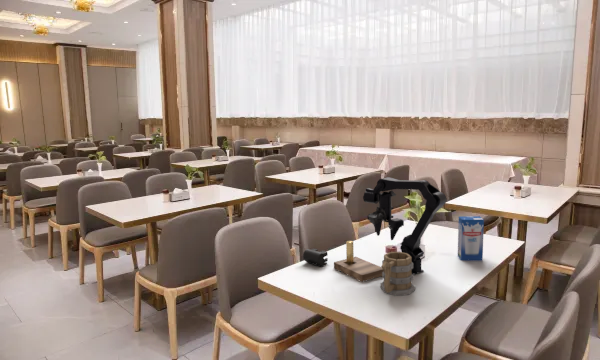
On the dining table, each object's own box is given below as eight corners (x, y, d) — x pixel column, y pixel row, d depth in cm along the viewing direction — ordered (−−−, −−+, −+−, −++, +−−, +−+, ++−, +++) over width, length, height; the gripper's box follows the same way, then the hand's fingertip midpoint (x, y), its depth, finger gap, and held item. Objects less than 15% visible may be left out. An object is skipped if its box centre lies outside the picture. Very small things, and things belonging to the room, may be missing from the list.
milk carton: (478, 256, 209) (479, 216, 206) (482, 260, 203) (484, 219, 200) (457, 256, 210) (458, 216, 207) (460, 260, 204) (462, 219, 201)
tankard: (390, 280, 183) (390, 246, 180) (418, 287, 175) (419, 251, 172) (366, 296, 167) (366, 259, 165) (396, 304, 159) (396, 266, 157)
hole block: (384, 275, 189) (384, 268, 188) (362, 281, 182) (362, 275, 181) (355, 262, 205) (355, 256, 205) (334, 268, 199) (333, 262, 198)
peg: (355, 269, 197) (354, 241, 195) (349, 270, 195) (349, 243, 193) (350, 267, 199) (350, 240, 197) (345, 268, 198) (344, 241, 196)
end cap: (303, 264, 206) (302, 250, 205) (312, 260, 211) (312, 246, 210) (318, 268, 199) (318, 254, 198) (328, 264, 204) (328, 250, 203)
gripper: (358, 204, 201) (358, 236, 204) (386, 210, 186) (386, 245, 188) (376, 200, 207) (376, 232, 209) (404, 207, 191) (404, 241, 194)
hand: (385, 237), depth 200 cm, fingers open, 9 cm apart
